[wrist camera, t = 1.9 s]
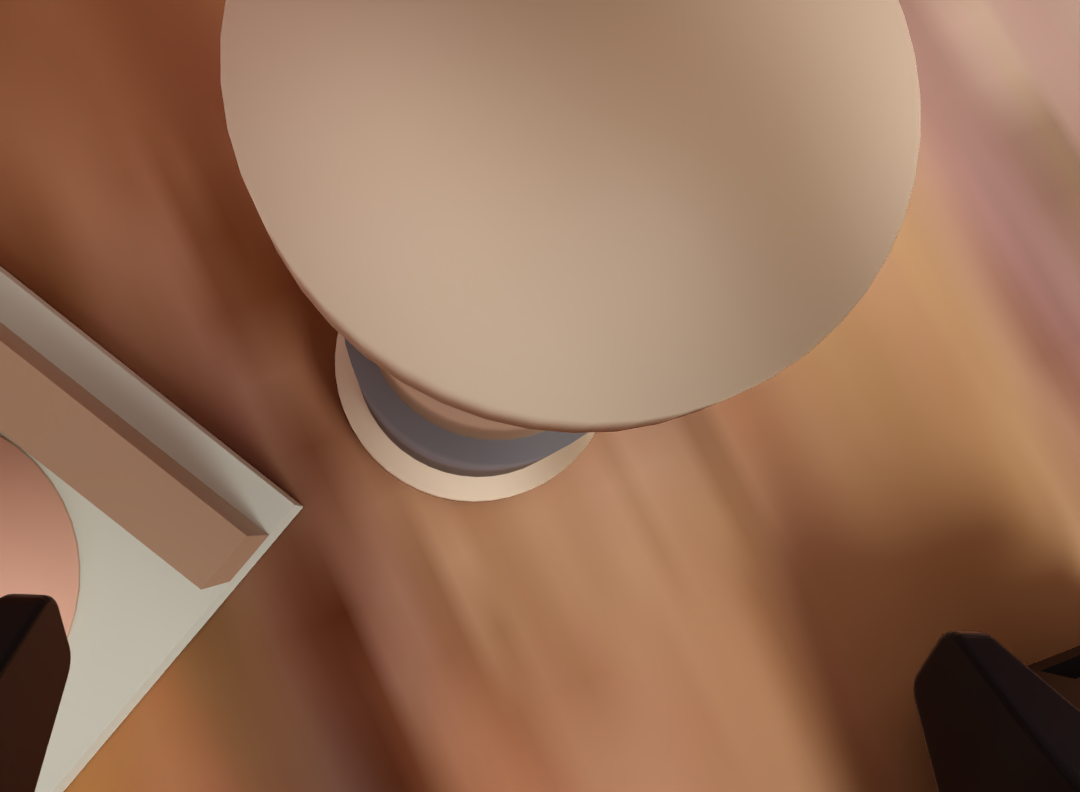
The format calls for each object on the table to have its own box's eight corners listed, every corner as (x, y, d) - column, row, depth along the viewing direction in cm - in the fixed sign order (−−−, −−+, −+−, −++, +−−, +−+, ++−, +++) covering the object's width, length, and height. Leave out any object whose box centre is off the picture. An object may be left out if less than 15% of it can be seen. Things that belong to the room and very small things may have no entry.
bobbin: (495, 557, 20) (667, 615, 7) (281, 386, 20) (10, 89, 6) (653, 352, 21) (1064, 51, 8) (453, 190, 21) (527, -393, 8)
